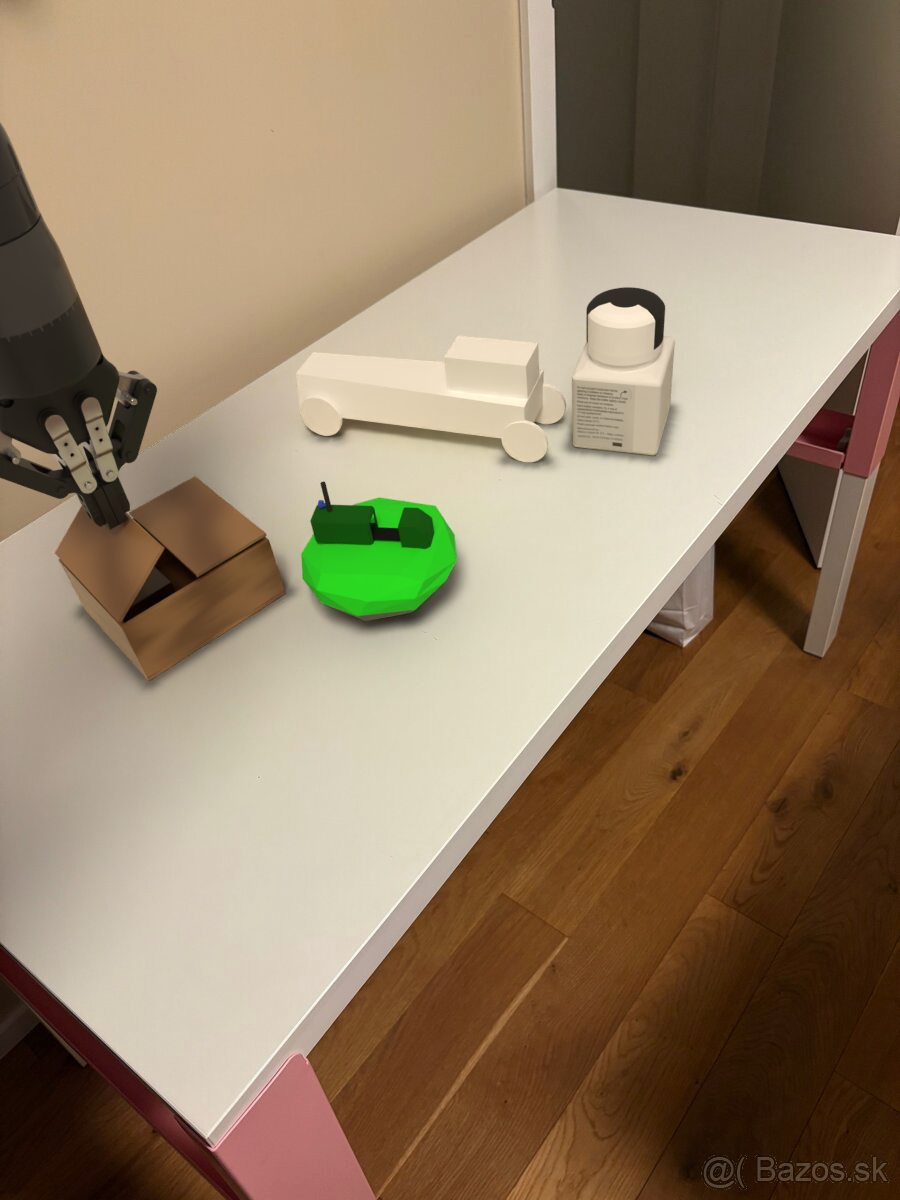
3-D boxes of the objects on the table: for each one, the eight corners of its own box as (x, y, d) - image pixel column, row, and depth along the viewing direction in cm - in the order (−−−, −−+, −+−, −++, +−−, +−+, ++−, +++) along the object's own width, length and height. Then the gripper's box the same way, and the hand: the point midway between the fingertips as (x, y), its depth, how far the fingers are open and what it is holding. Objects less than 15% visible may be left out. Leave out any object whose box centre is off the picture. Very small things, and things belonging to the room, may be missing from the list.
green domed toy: (297, 646, 73) (263, 539, 65) (336, 544, 81) (309, 438, 73) (450, 656, 71) (434, 546, 63) (474, 549, 79) (462, 441, 71)
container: (589, 401, 92) (590, 275, 83) (670, 408, 90) (679, 279, 81) (571, 448, 87) (570, 319, 78) (656, 457, 85) (665, 326, 76)
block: (143, 644, 74) (126, 609, 71) (119, 619, 77) (101, 584, 74) (187, 617, 76) (171, 581, 73) (162, 593, 78) (146, 558, 75)
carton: (148, 681, 72) (118, 621, 67) (86, 611, 78) (54, 552, 74) (286, 593, 77) (266, 532, 73) (217, 534, 84) (195, 475, 79)
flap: (121, 622, 68) (117, 621, 67) (57, 554, 74) (54, 553, 74) (164, 548, 67) (161, 547, 67) (97, 485, 73) (93, 484, 73)
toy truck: (566, 423, 90) (565, 336, 83) (546, 468, 85) (543, 379, 79) (330, 394, 98) (312, 312, 91) (300, 434, 93) (279, 351, 87)
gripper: (-73, 370, 52) (52, 592, 65) (138, 278, 58) (216, 498, 70) (-116, 327, 57) (9, 542, 69) (84, 245, 62) (166, 458, 74)
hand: (113, 520), depth 69 cm, fingers closed
